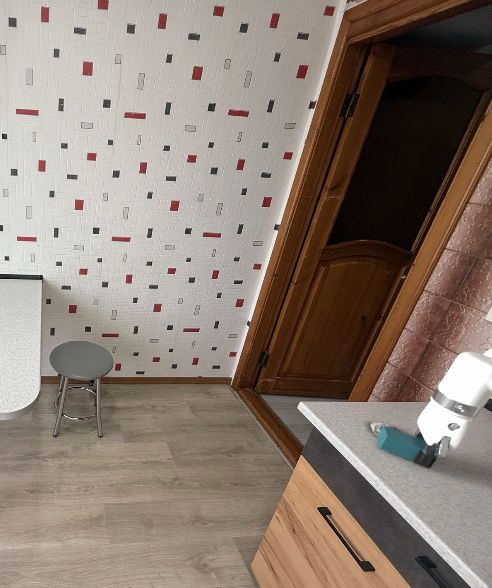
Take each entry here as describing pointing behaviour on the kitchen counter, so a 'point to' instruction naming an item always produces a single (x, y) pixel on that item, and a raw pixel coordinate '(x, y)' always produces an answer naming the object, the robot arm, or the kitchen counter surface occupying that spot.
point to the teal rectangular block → (400, 443)
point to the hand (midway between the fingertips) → (417, 457)
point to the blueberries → (380, 427)
